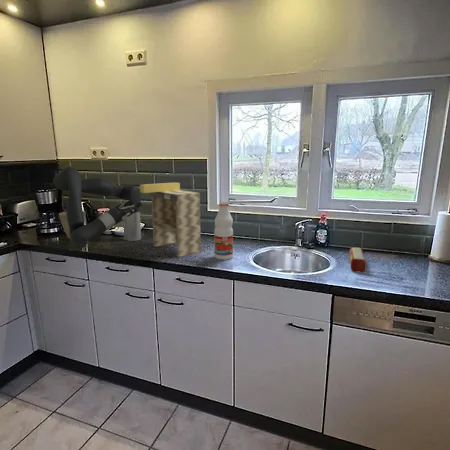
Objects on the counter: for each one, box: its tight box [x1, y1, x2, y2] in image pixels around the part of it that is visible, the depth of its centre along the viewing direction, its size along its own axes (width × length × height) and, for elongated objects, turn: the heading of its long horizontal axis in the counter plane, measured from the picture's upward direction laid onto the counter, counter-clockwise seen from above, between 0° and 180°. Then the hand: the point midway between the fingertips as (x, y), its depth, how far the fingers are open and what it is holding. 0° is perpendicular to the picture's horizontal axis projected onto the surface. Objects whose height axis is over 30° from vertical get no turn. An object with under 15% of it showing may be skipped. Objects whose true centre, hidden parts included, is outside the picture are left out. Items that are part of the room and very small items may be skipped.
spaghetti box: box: [139, 182, 181, 194], centre depth 170 cm, size 22×4×4 cm, turn 132°
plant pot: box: [58, 210, 86, 240], centre depth 196 cm, size 15×15×16 cm
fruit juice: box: [213, 202, 234, 261], centre depth 160 cm, size 9×9×28 cm
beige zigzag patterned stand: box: [149, 189, 202, 257], centre depth 173 cm, size 15×26×32 cm, turn 42°
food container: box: [113, 216, 125, 228], centre depth 211 cm, size 12×6×10 cm, turn 84°
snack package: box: [348, 247, 367, 273], centre depth 152 cm, size 21×7×7 cm, turn 161°
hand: (136, 202), depth 161 cm, fingers open, 8 cm apart
